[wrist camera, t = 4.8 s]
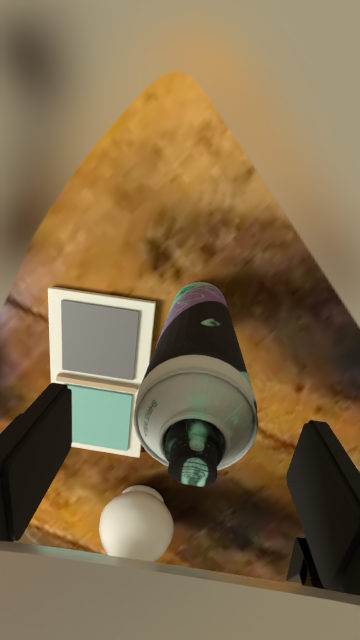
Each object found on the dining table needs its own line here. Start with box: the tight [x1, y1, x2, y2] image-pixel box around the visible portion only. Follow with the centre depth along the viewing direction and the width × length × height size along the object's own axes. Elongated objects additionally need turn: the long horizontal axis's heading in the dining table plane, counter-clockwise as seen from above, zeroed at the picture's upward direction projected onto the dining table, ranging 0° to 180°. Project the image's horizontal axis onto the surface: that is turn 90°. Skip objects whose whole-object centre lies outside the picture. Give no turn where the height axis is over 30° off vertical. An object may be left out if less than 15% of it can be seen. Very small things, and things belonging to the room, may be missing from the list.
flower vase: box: [99, 485, 174, 562], centre depth 26 cm, size 13×18×25 cm
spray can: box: [134, 282, 258, 486], centre depth 19 cm, size 6×6×20 cm
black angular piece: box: [286, 537, 328, 590], centre depth 37 cm, size 12×7×5 cm, turn 179°
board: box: [48, 286, 156, 457], centre depth 31 cm, size 11×20×2 cm, turn 173°
